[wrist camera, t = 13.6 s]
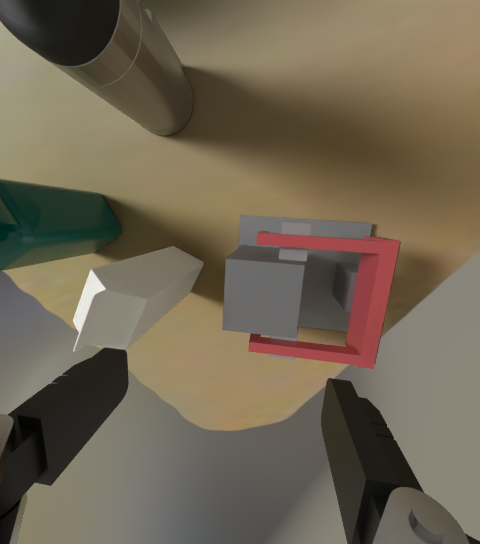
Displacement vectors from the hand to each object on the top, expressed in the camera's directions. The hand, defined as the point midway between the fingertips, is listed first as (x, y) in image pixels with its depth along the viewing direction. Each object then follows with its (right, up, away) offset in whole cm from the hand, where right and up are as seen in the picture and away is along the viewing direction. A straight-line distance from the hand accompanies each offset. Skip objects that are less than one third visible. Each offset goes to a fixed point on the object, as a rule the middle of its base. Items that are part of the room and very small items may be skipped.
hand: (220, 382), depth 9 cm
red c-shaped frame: (+10, +2, +21) cm, 23 cm away
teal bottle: (-23, +13, +32) cm, 41 cm away
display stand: (+10, +4, +29) cm, 31 cm away
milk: (-9, +5, +31) cm, 33 cm away
